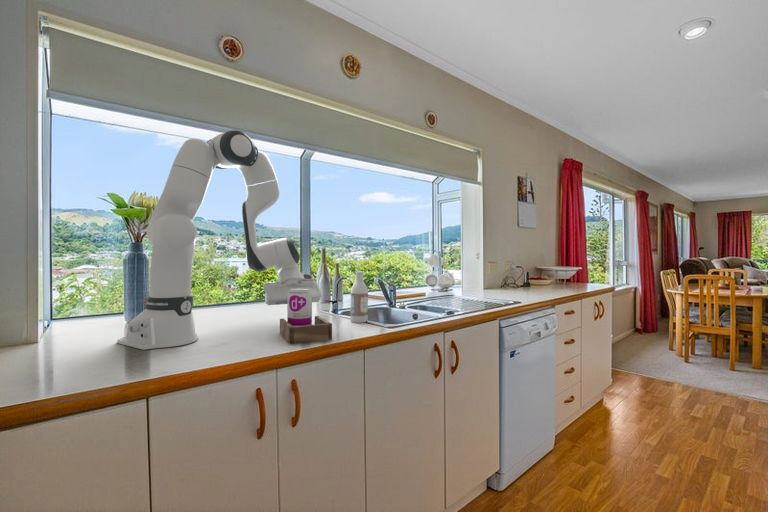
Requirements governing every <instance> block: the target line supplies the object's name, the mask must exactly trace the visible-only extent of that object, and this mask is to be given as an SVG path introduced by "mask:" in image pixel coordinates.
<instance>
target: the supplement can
mask: <svg viewBox="0 0 768 512" xmlns="http://www.w3.org/2000/svg"><path fill="white" fill-rule="evenodd" d="M286 305H287V313H286V314H287V319H286V321H287V322H288V323H289V324H291V325H292V326H293V327H295V326H306V325H313V323H312V321H313V319H312V318H313V302H312V292H311V290H310V289H309V288H292V289H289V292H288V303H287V304H286Z"/></svg>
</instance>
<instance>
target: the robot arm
mask: <svg viewBox="0 0 768 512" xmlns="http://www.w3.org/2000/svg"><path fill="white" fill-rule="evenodd" d="M230 168H236V169H237V170H238V171H239V172H240V173H241V175H242V177H243V181H244V185H245V188H246V198H245V200H244V201H243V202H242V205H241V214H242V215H241V217H242V225H243V234H244V240H245V241H244V242H245V251H246V252H245V258H246V259H245V260H246V263H247V266H248V268H249V269H250V270H252V271H254V272H257V273H261V272H264V271H266V270H269V269H273V268H275V271H276V272H277V281H272V282H271V281H268V282H266V283H264V284H263V286H262V289H263V292H264V293H265V295H264V296H265V299H264V301H265V304H266V305H267V306H279V305H287V303H288V292H289V289H292V288H309V289H310V290H311V292H312V303H319V302H320V300H321V298H322V291H321V289H320V287H319V285H318V283H317V282H316V281H315V279H316V278H315V275H312V274H307V273H304V272H301V270H300V269H299V267H300V265H299V262H300V259H301V258H300V254H299V249H298V245H297V243H296V242H295V241H294V240H293V239H291V238H289V237H282V238H278V239H275V240H272V241H268V242H267V241H266V242H263V243H259V242H258V238H257V230H256V229H257V228H256V220H257V219H258V218H259V216H260V215H261V214H262V213H264V212H265V211H266V210H268V209H270V208H271V207H272V206H273V205H275V204H276V203H277V201H278V200H279V198H280V194H281V192H280V186H279V181H278V178H277V175H276V171H275V170H274V166H273V163H272V162H271V160H270V158H269V156H268V154H267V153H265V152H263V151H261V150H258V148H257V146H256V145H255V143H254V142H253V140H252V138H251V137H250V135H248V134H247V133H246V132H244V131H240V130H237V129H235V130H228V131H226V132H224V133H219V134H218V135H216V136H214V137H213V138H211V139H209V140H207V141H205V140H202V139H199V138H189V139H187V140H185V141H184V142H183V144H182V146H181V147H180V148H179V150H178V152H177V154H176V156H175V158H174V159H173V162H172V165H171V167H170V170H169V174H168V176H167V179H166V182H165V183H164V184H165V185H164V187H163V190H162V193H161V195H160V196H159V199H158V201H157V203H156V205H155V208H154V210H153V212H152V215H151V217H150V219H149V222H148V224H147V227H146V237H147V240H148V241H149V243H150V244H151V245H152V249H151V259H150V267H149V296H148V298H142V301H143V302H142V303H143V304H144V303H145V306H144V309H143V310H142V311H141V312H140V313H139V314H138V315H136V316H135V317H133V319H131V320H130V321H128V324H127V328H126V335H125V336H123V337H120V338H119V339H117V341H116V343H117V344H121V345H123V346H127V347H131V348H136V349H139V350H152V349H160V348H161V349H163V348H171V347H178V346H184V345H189V344H191V343H194V342H197V340H198V337H197V336H198V332H197V331H196V325H195V318H194V312H193V306H194V295H193V294H192V269H193V262H194V261H193V260H194V255H195V248H196V240H197V239H196V238H197V236H198V230H197V226H196V224H195V223H194V220H195V217H196V215H197V212H199V209H200V207H201V206H202V204H203V202H204V199H205V196H206V193H207V190H208V188H209V185H210V182H211V178H212V175H213V172H214V171H215V169H218V170H226V169H230Z"/></svg>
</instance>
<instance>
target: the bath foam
mask: <svg viewBox="0 0 768 512" xmlns="http://www.w3.org/2000/svg"><path fill="white" fill-rule="evenodd" d="M349 303H350V307H349V308H350V309H349V310H350V311H349V312H350V322H351V323H356V324H357V323H359V324H360V323H366V321H367V322H368V320H369V319H368V317H369V316H368V315H369V313H368V312H369V308H368V307H369V290H368V286H367V285H366V283H365V281H364V271H361V270H359V271H358V270H357V271H355V281H354V283H353V285H352V286H351V289H350V302H349Z"/></svg>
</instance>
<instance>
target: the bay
mask: <svg viewBox="0 0 768 512" xmlns="http://www.w3.org/2000/svg"><path fill="white" fill-rule="evenodd" d="M279 334H280V336H282V338H283V339H284V340H286V341H287V343H288V344H289V343H290V344H289V345H294V344H303V343H312V342H313V343H314V342H321V341H330V340H332V339H333V323H331V322H329V320H326V319H324V318H322V317H321V316H319V315H315V316H314V324H312V325H306V326H295V327H293V326H292V325H291V324H289V323H288V322H287V319H285V318H279Z"/></svg>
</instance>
